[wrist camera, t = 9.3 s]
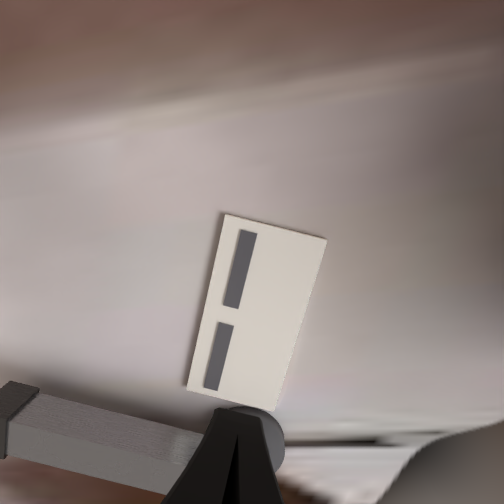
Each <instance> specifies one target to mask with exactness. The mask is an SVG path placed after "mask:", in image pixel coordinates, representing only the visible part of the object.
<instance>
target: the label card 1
mask: <svg viewBox="0 0 504 504" xmlns="http://www.w3.org/2000/svg"><path fill="white" fill-rule="evenodd" d="M298 334H299V333H297V332H293V331H289V330H285V329H281V328H277V327H273V326H270V325H266V324H262V323H258V322H254V321H250V320H246V319H242V318H238V317H234V316H230V315H226V314H222V313H218V312H214V311H210V310H206V309H204V312H203V316H202V321H201V325H200V330H199V334H198V339H197V343H196V348H195V352H194V357H193V361H192V366H191V370H190V375H189V379H188V383H187V388H186V390H188V391H192V392H196V393H200V394H204V395H208V396H212V397H216V398H220V399H224V400H228V401H232V402H236V403H240V404H244V405H248V406H252V407H256V408H260V409H264V410H268V411H272V412H274V410H275V407H276V404H277V400H278V397H279V394H280V391H281V388H282V384H283V381H284V378H285V375H286V372H287V369H288V365H289V362H290V359H291V356H292V353H293V349H294V346H295V343H296V340H297V337H298Z"/></svg>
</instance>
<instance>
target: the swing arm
mask: <svg viewBox="0 0 504 504" xmlns="http://www.w3.org/2000/svg"><path fill="white" fill-rule="evenodd" d="M39 390H40V388H37V387H33V386H29V385H25V384H21V383H17V382H13V381H9V382H8V383H7V384H6V385H4V386H3V387H2V388H1V389H0V459H5V458H6V457H7V456H8V455H10V456H14V457H18V458H22V459H26V460H30V461H33V462H37V463H41V464H45V465H49V466H53V467H57V468H61V469H65V470H69V471H73V472H77V473H81V474H85V475H89V476H93V477H97V478H101V479H105V480H109V481H113V482H117V483H121V484H125V485H129V486H133V487H137V488H141V489H145V490H149V491H153V492H157V493H161V494H165V495H167V494H168V492H169V491H170V489H171V488H172V486H173V485H174V484H175V482H176V481H177V479H178V478H179V476H180V475H181V473H182V472H183V470H184V469H185V467H186V466H187V464H188V462H189V461H190V459H191V457H192V456H193V454H194V452H195V451H196V449H197V447H198V446H199V444H200V442H201V440H202V438H203V436H204V435H205V434H201V433H197V432H193V431H189V430H185V429H181V428H177V427H173V426H169V425H165V424H161V423H157V422H153V421H149V420H145V419H141V418H137V417H133V416H129V415H125V414H121V413H117V412H114V411H110V410H106V409H102V408H98V407H94V406H90V405H86V404H82V403H78V402H74V401H70V400H66V399H62V398H58V397H54V396H50V395H46V394H42V393H39ZM268 451H269V449H268ZM269 455H270V451H269Z"/></svg>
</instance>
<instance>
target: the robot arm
mask: <svg viewBox="0 0 504 504" xmlns="http://www.w3.org/2000/svg"><path fill="white" fill-rule="evenodd" d="M161 504H284V501H283V498H282V495H281V492H280V489H279V485H278V482H277V479H276V476H275V473H274V469H273V466H272V462H271V459H270V455H269V451H268V447H267V443H266V439H265V434H264V429H263V424H262V420H261V419H260V417H256V416H252V415H248V414H244V413H240V412H236V411H232V410H228V409H223V408H217V409H215V410H214V414H213V417H212V419H211V422H210V424H209V426H208V429H207V431H206V433H205V435H204V436H203V438H202V440H201V442H200V444H199V446H198V447H197V449H196V451H195V452H194V454H193V456H192V457H191V459H190V461H189V462H188V464H187V466H186V467H185V469H184V470H183V472H182V473H181V475H180V476H179V478H178V479H177V481H176V482H175V484H174V485H173V486H172V488H171V489H170V491H169V492H168V494H167V495H166V497H165V498H164V499H163V501H162V502H161Z"/></svg>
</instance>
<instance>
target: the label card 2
mask: <svg viewBox="0 0 504 504" xmlns="http://www.w3.org/2000/svg"><path fill="white" fill-rule="evenodd" d="M327 241H328V240H327V239H324V238H320V237H316V236H312V235H308V234H304V233H300V232H296V231H292V230H288V229H285V228H281V227H277V226H273V225H269V224H265V223H261V222H257V221H253V220H249V219H245V218H241V217H237V216H233V215H229V214H225V218H224V222H223V227H222V231H221V236H220V240H219V245H218V249H217V254H216V258H215V263H214V267H213V272H212V276H211V281H210V285H209V290H208V294H207V298H206V303H205V307H204V309H206V310H210V311H214V312H218V313H222V314H226V315H230V316H234V317H238V318H242V319H246V320H250V321H254V322H258V323H262V324H266V325H270V326H273V327H277V328H281V329H285V330H289V331H293V332H297V333H299V330H300V327H301V324H302V321H303V318H304V315H305V311H306V308H307V305H308V302H309V299H310V295H311V292H312V289H313V286H314V283H315V280H316V276H317V273H318V270H319V267H320V264H321V260H322V257H323V254H324V251H325V248H326V245H327Z"/></svg>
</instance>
